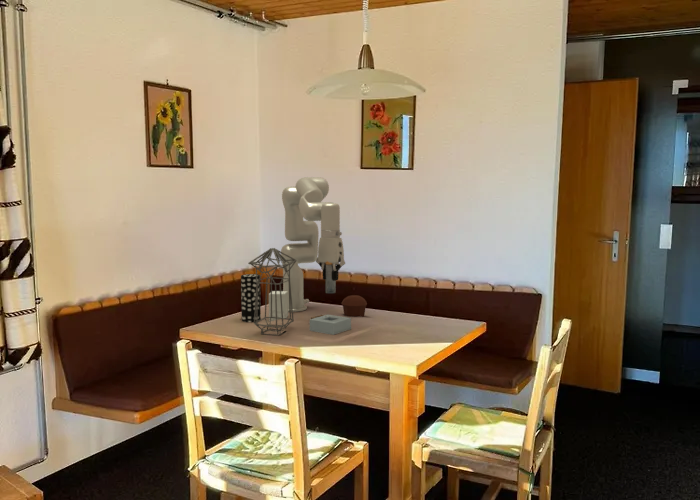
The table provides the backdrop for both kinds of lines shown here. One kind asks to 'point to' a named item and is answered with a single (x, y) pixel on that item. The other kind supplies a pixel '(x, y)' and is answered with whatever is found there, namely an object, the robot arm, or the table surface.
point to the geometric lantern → (282, 259)
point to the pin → (330, 279)
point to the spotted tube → (249, 297)
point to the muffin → (354, 306)
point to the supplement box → (278, 305)
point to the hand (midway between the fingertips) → (330, 279)
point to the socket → (330, 324)
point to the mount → (316, 317)
